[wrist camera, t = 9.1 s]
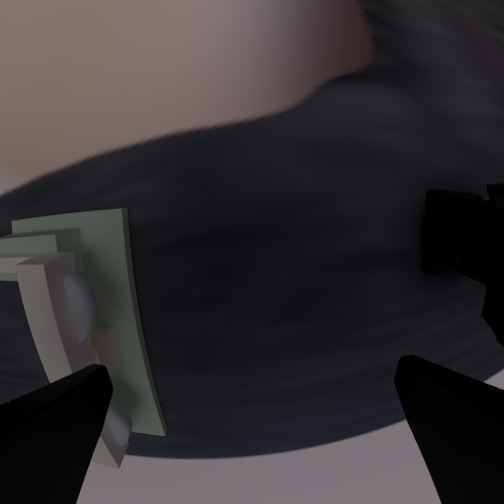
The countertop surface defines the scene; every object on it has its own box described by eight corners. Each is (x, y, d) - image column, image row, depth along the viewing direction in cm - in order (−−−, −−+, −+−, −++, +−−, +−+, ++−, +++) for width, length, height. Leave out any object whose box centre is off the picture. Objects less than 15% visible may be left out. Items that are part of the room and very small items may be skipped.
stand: (127, 207, 18) (100, 212, 14) (167, 428, 22) (159, 459, 18) (19, 219, 17) (-13, 226, 13) (72, 411, 22) (57, 435, 18)
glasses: (89, 250, 14) (60, 264, 11) (142, 445, 18) (133, 471, 15) (-2, 254, 14) (-29, 264, 11) (57, 424, 17) (44, 444, 14)
